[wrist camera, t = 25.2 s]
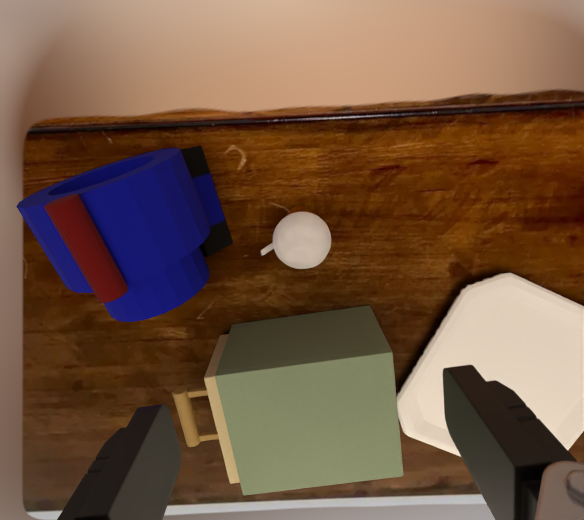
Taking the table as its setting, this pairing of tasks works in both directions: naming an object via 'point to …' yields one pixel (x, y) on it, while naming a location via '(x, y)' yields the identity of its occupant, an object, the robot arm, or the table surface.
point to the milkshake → (300, 238)
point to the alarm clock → (133, 230)
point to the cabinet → (310, 401)
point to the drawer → (211, 390)
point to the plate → (503, 357)
